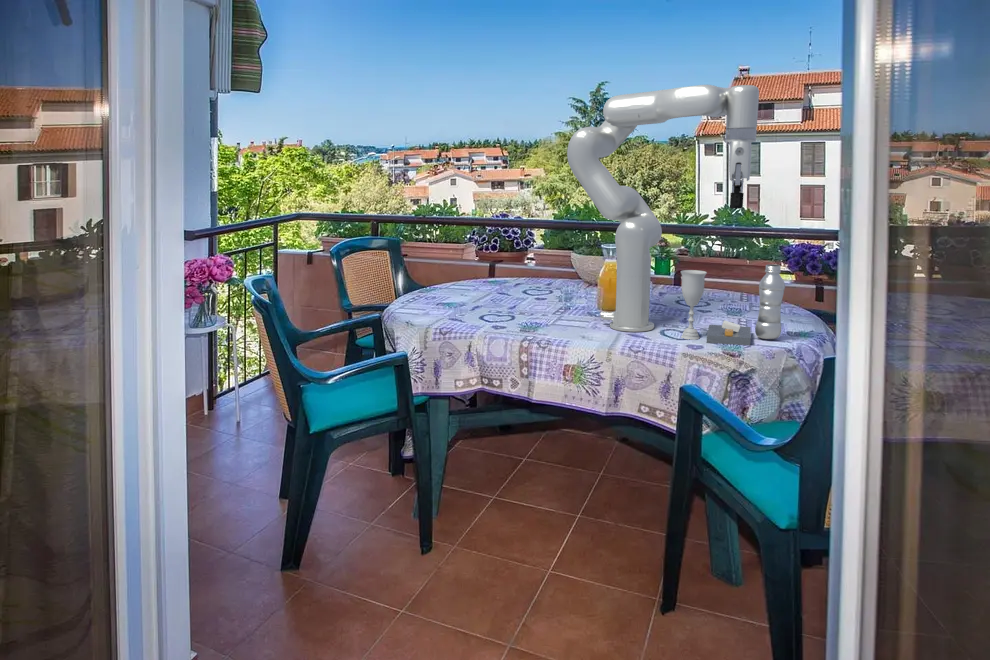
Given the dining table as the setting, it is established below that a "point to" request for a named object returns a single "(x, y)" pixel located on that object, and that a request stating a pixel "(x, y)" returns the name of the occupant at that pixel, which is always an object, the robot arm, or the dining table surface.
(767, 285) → the plastic bottle
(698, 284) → the chalice
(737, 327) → the block
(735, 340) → the panel
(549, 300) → the dining table surface
